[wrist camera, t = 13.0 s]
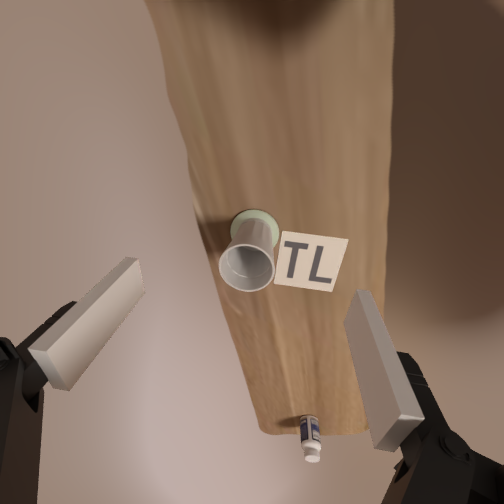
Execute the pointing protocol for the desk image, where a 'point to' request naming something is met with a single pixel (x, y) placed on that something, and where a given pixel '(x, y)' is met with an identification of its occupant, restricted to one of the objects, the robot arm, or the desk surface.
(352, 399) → the desk surface
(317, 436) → the pill bottle
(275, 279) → the tile
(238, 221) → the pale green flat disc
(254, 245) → the cup
